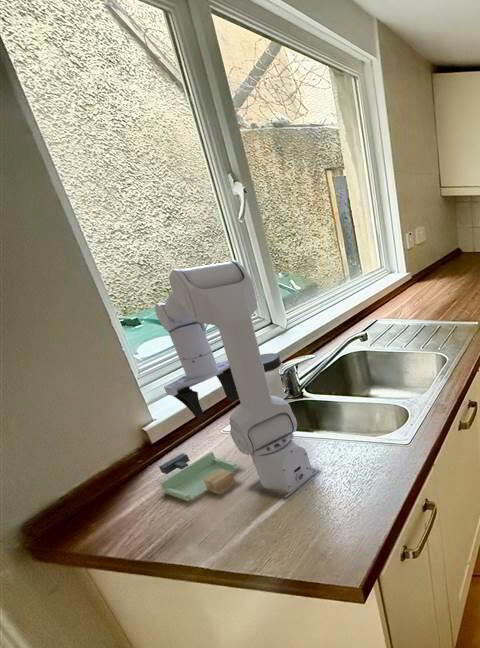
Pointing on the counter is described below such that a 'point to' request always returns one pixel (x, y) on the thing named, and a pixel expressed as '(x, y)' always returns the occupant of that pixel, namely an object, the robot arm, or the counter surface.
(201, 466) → the tray
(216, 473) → the block
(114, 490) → the counter surface
